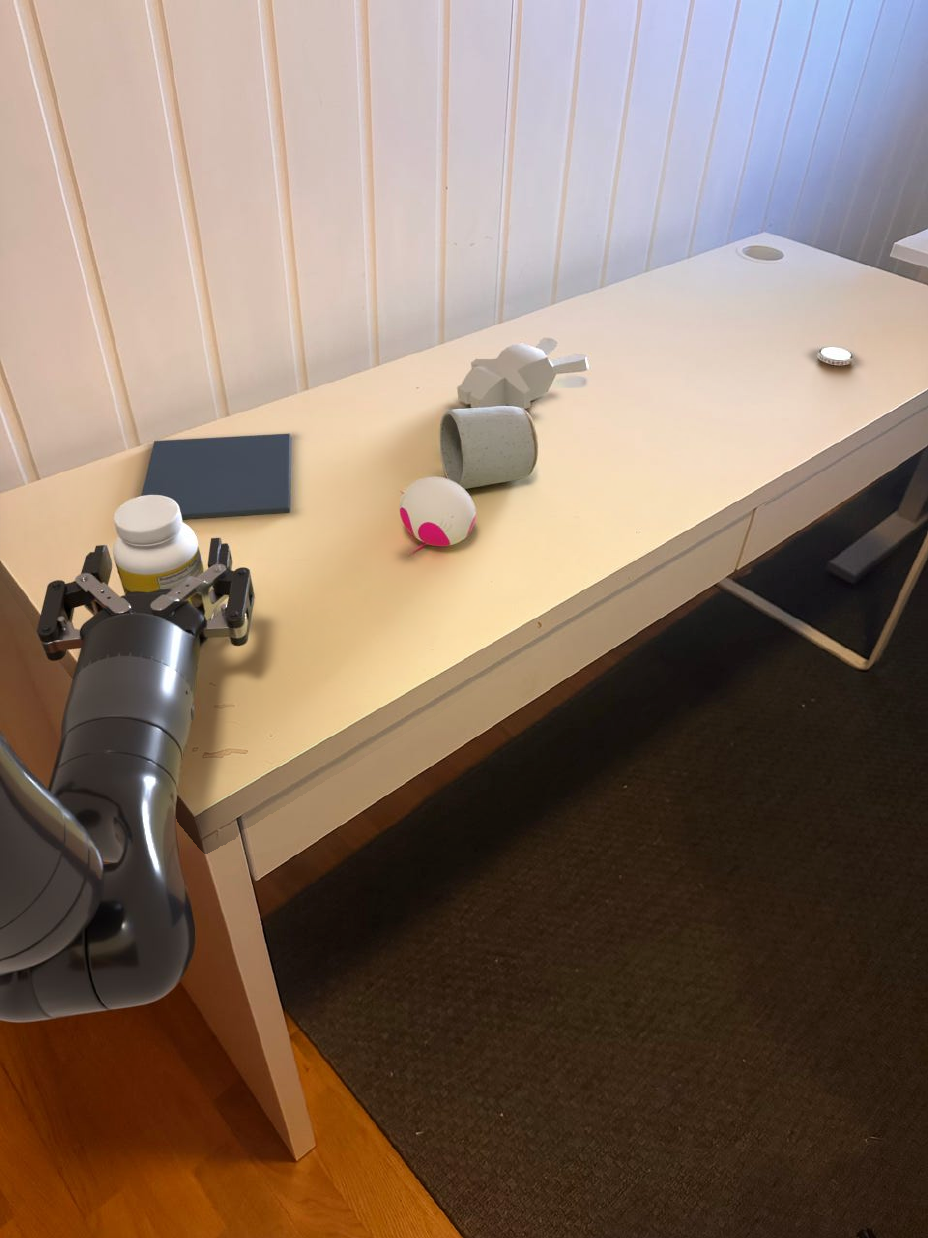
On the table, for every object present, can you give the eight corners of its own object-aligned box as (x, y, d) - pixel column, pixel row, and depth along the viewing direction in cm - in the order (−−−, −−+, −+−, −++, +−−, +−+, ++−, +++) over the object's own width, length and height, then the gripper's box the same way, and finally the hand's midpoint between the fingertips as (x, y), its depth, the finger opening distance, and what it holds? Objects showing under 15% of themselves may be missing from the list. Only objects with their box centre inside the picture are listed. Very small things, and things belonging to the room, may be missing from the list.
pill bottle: (123, 620, 73) (87, 507, 65) (192, 590, 76) (166, 479, 68) (157, 662, 69) (123, 547, 62) (229, 628, 72) (204, 515, 65)
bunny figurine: (440, 364, 100) (541, 317, 106) (444, 404, 103) (542, 356, 109) (494, 396, 94) (597, 345, 100) (496, 437, 98) (596, 385, 104)
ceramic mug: (540, 490, 88) (545, 419, 83) (462, 505, 86) (463, 433, 81) (499, 440, 96) (502, 372, 91) (427, 452, 93) (426, 384, 88)
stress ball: (397, 558, 85) (362, 527, 79) (443, 489, 86) (412, 453, 80) (455, 590, 81) (423, 560, 75) (503, 518, 82) (475, 482, 76)
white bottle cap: (855, 365, 110) (857, 360, 110) (822, 364, 110) (824, 359, 110) (845, 351, 113) (847, 346, 113) (814, 350, 113) (815, 345, 113)
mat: (137, 522, 83) (135, 517, 83) (155, 445, 93) (154, 440, 93) (289, 512, 85) (288, 507, 84) (290, 438, 95) (289, 433, 95)
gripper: (236, 649, 55) (248, 503, 67) (-5, 669, 54) (51, 516, 66) (253, 730, 60) (261, 581, 72) (33, 750, 59) (79, 594, 71)
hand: (161, 550), depth 69 cm, fingers open, 8 cm apart
